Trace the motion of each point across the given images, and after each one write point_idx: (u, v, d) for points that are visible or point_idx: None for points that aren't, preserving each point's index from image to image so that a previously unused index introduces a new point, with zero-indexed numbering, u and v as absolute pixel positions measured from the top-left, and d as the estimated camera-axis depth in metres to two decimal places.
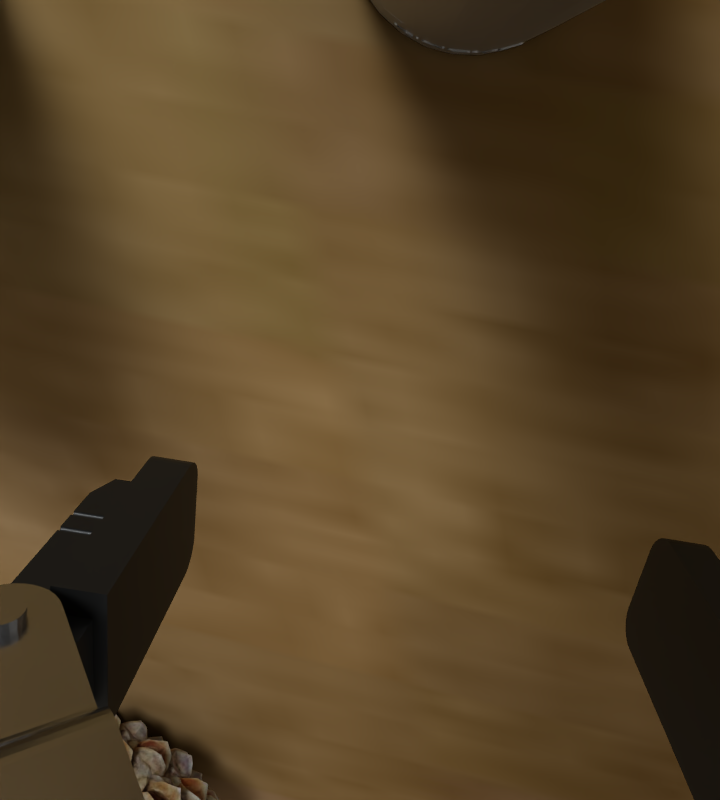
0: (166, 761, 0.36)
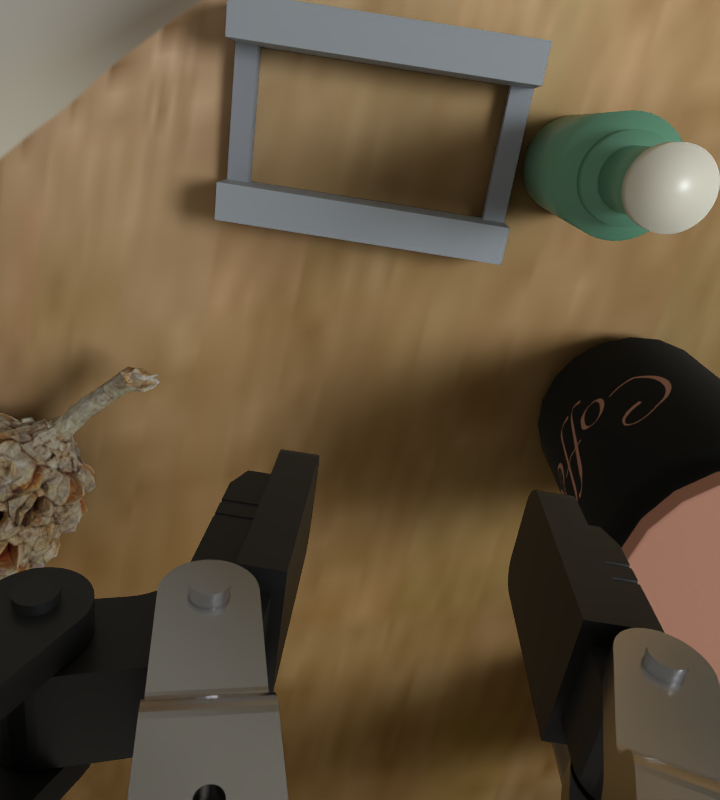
0: None
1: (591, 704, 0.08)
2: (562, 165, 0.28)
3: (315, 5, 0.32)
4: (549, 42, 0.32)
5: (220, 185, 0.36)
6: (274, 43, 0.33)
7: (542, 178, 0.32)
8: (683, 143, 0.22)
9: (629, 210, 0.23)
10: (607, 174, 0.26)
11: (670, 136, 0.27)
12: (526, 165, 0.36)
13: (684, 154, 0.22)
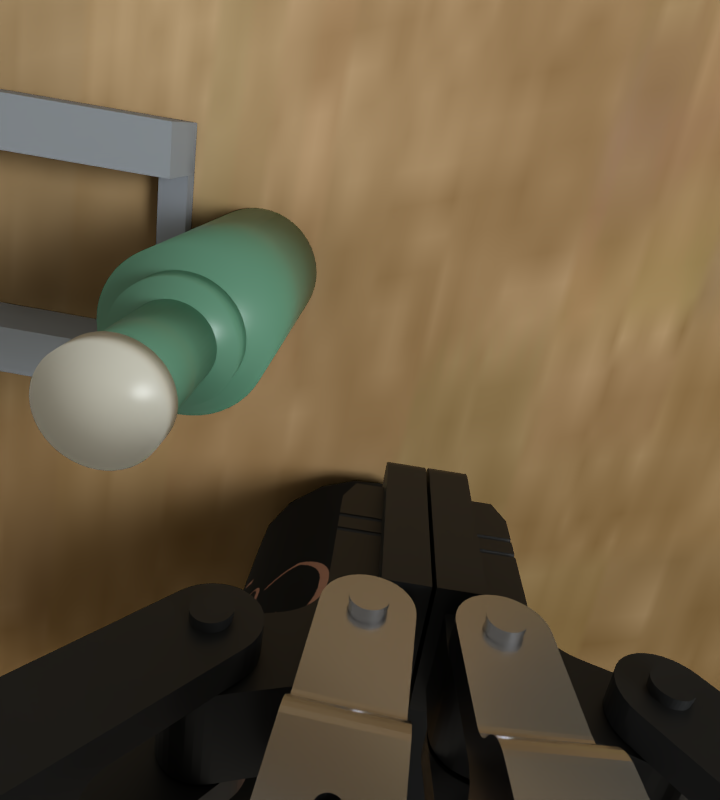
0: None
1: (440, 669, 0.09)
2: (98, 314, 0.20)
3: None
4: (169, 123, 0.24)
5: None
6: None
7: None
8: (91, 343, 0.14)
9: None
10: None
11: (235, 281, 0.19)
12: None
13: (97, 360, 0.14)
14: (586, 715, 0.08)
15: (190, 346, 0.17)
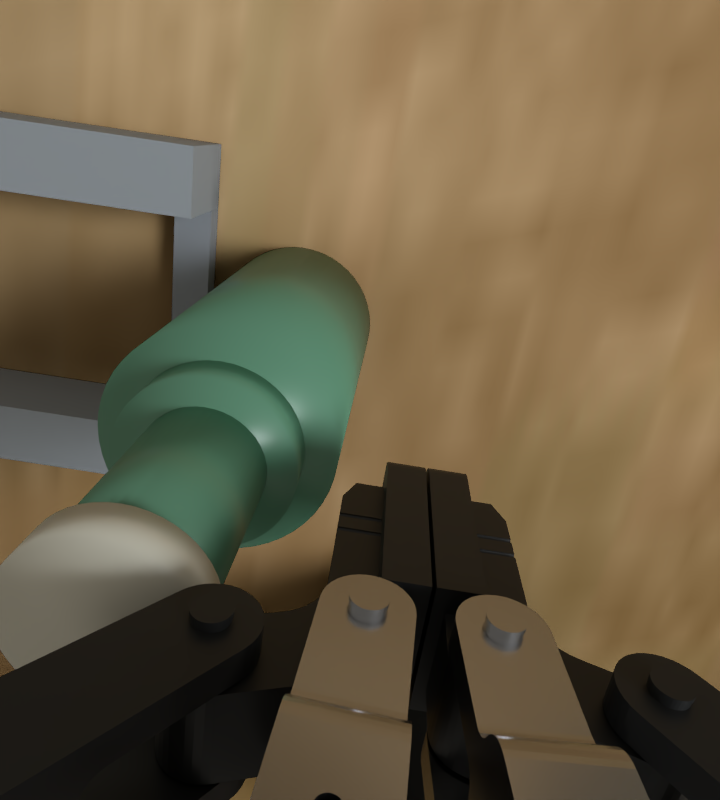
0: None
1: (440, 669, 0.09)
2: (100, 419, 0.14)
3: None
4: (190, 148, 0.19)
5: None
6: None
7: None
8: (84, 537, 0.08)
9: None
10: None
11: (291, 375, 0.13)
12: None
13: (94, 561, 0.08)
14: (586, 715, 0.08)
15: (235, 488, 0.11)
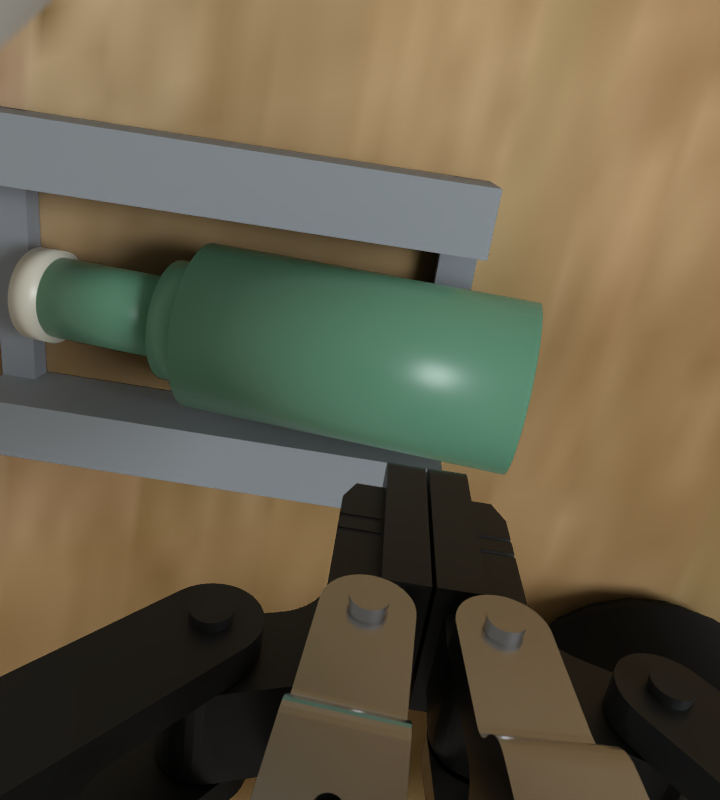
0: None
1: (440, 669, 0.09)
2: None
3: (89, 128, 0.18)
4: (498, 191, 0.18)
5: None
6: (28, 188, 0.19)
7: None
8: None
9: None
10: None
11: (187, 276, 0.19)
12: None
13: None
14: (586, 715, 0.08)
15: (104, 295, 0.20)
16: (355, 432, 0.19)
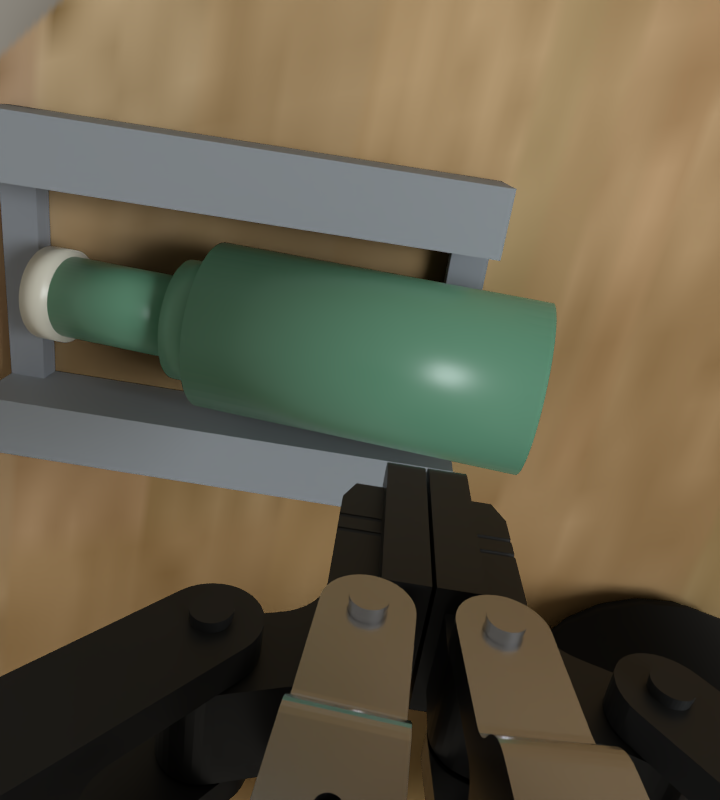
0: None
1: (440, 669, 0.09)
2: None
3: (102, 127, 0.18)
4: (511, 191, 0.18)
5: None
6: (40, 187, 0.19)
7: None
8: (50, 247, 0.21)
9: None
10: None
11: (200, 276, 0.19)
12: None
13: None
14: (586, 715, 0.08)
15: (115, 294, 0.20)
16: (368, 432, 0.19)
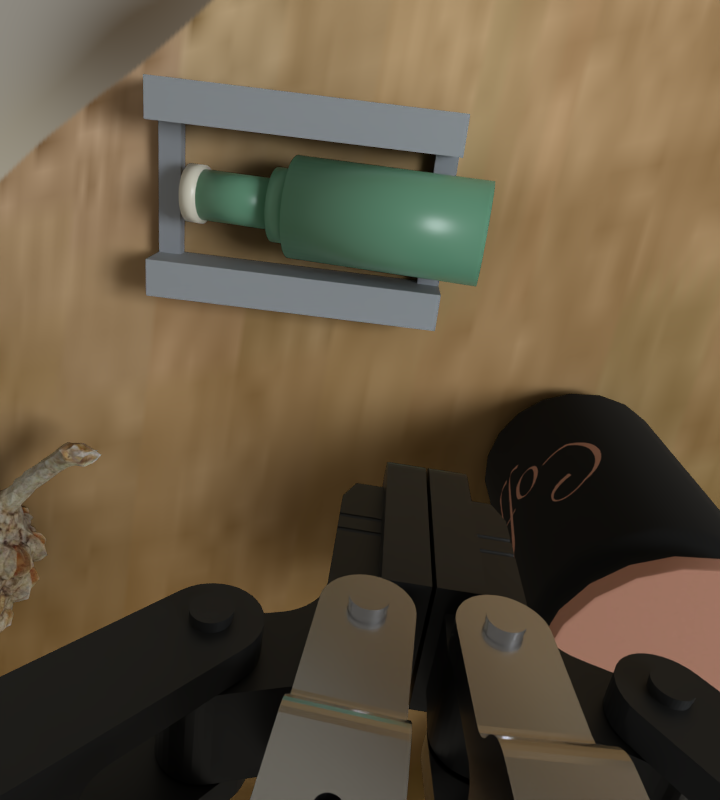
0: None
1: (440, 669, 0.09)
2: None
3: (231, 86, 0.32)
4: (467, 115, 0.32)
5: (149, 262, 0.36)
6: (193, 123, 0.33)
7: None
8: None
9: None
10: None
11: (289, 171, 0.33)
12: None
13: None
14: (586, 715, 0.08)
15: (236, 187, 0.34)
16: (389, 259, 0.33)
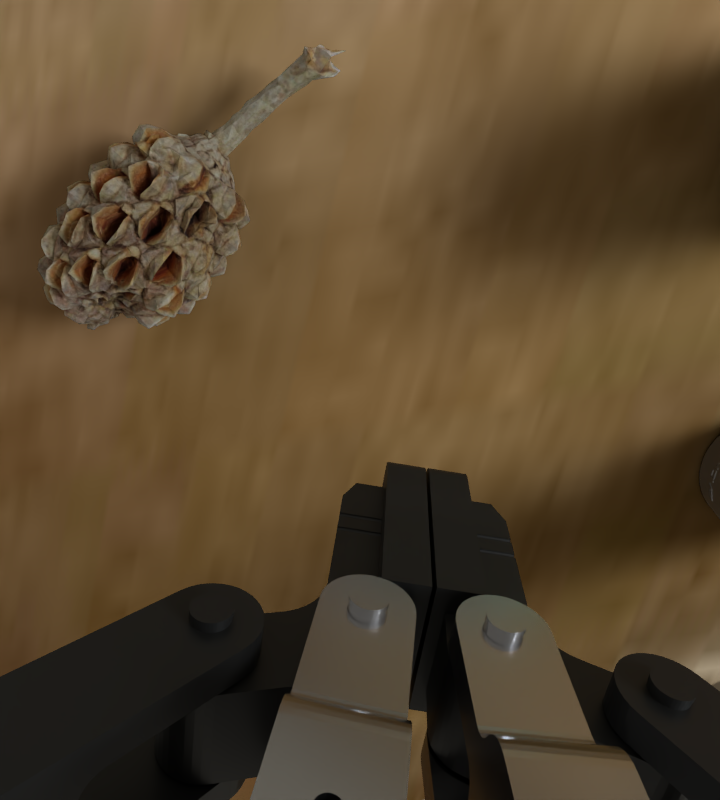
0: None
1: (440, 669, 0.09)
2: None
3: None
4: None
5: None
6: None
7: None
8: None
9: None
10: None
11: None
12: None
13: None
14: (586, 715, 0.08)
15: None
16: None
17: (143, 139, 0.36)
